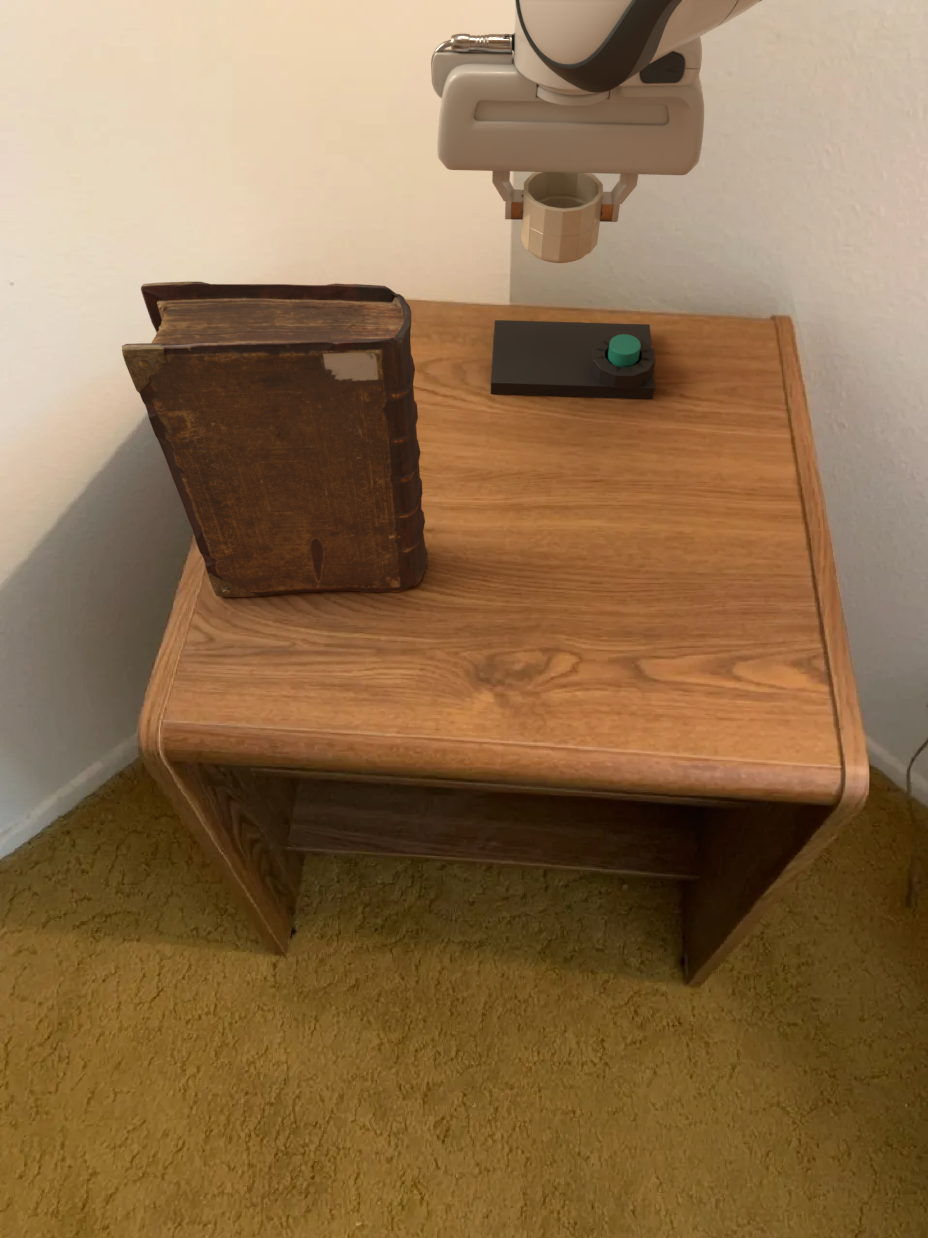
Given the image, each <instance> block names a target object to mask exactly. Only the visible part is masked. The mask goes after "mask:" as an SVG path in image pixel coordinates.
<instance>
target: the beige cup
mask: <svg viewBox="0 0 928 1238" xmlns="http://www.w3.org/2000/svg"><path fill="white" fill-rule="evenodd" d="M522 190H523V212H522V213H523V218H522V220H521V233H520V235H521V236H520V242H521V245H523V247H524V248H525V249H526V251H527V252H528V253H530V254H531V255H532V256H534V257H535V258H537V259H539V260H541V261H544V262H547V263H553V264H568V263H573V262H576V261H579V260H581V259H584V257H585V256H587V255H589V254H591V252H592V251H593V250H594V249H595V247H596V246H597V245H598V241H599V240H598V239H599V231H600V225H601V222H600V216H601V207H602V200H603V192H604V184H603V182H601V180H600V179H599V178H598V177H597V176H596V175H595V173H562V172H531V174H530V175H529V176H528V177H527V178H526V179H525V180H524V181H523V189H522Z"/></svg>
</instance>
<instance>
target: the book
mask: <svg viewBox="0 0 928 1238" xmlns="http://www.w3.org/2000/svg"><path fill="white" fill-rule="evenodd" d="M140 291H141V295H142V298H143V302H144V304H145V308H146V311H147V313H148V315H149V318H150V321H151V324H152V327H153V328H154V330H155V333H156V334H155V336H154V337H153V339H152V340H151V342H149V343H147V342H146V343H145V342H144V343H142V342H141V343H140V342H139V343H125V344H122V345H121V354H122V357H123V360H124V363H125V364H124V365H125V366H126V369H127V371H128V374H129V376H130V379H131V380H132V383H133V386H134V387H135V390H136V392H137V393H138V394H139V396H140V398H141V401H142V403H143V405H144V406H145V409H146V412H147V416H148V420H149V424H150V425H151V428H152V431H153V433H154V436H155V437H156V439H157V441H158V444H159V445H160V448H161V451H162V453H163V455H164V459H165V461H166V463H167V466H168V470H169V472H170V475H171V477H172V480H173V483H174V484H175V487H176V491H177V493H178V495H179V498H180V500H181V502H182V505H183V509H184V511H185V513H186V517H187V519H188V522H189V525H190V527H191V529H192V533H193V536H194V540H195V543H196V545H197V548H198V551H199V553H200V555H201V556H202V558H203V561H204V565H205V570H206V573H207V576H208V579H209V582H210V585H211V587H212V590H213V592H214V595H215V597H223V598H224V597H225V598H226V597H227V598H229V597H230V598H231V597H232V598H245V597H247V598H248V597H263V596H265V597H266V596H267V597H269V596H271V595H283V594H295V593H296V594H297V593H312V592H361V593H398V592H406V591H407V590H408V589H409V588H411V587H415V586H417V585H418V584H419V583H420V582H421V580H422V578H423V576H424V574H425V570H426V568H427V563H428V554H429V553H428V550H427V548H426V547H427V546H426V541H425V536H424V535H425V534H424V529H425V524H426V518H425V513H424V511H423V507H422V497H423V494H424V493H423V480H422V478H421V477H420V476H421V473H420V472H421V471H420V457H421V453H422V452H421V447H420V444H419V440H418V431H417V424H418V419H419V412H418V403H417V401H416V400H415V389H414V388H415V387H414V380H415V373H416V367H415V362H414V358H413V355H412V346H411V344H412V343H411V329H412V309H411V306H410V304H409V303H408V302H407V300H406V299H405V297H404V296H403V295H402V294H400V293H396V292H395V291H394V290H392V289H391V288H389V287H387V286H386V285H380V284H363V283H362V284H361V283H329V284H293V283H291V284H290V283H289V284H288V283H244V284H243V283H208V282H204V281H167V282H166V281H165V282H164V281H163V282H151V283H143V284H142V285H141V286H140Z"/></svg>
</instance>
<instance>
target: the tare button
mask: <svg viewBox="0 0 928 1238" xmlns="http://www.w3.org/2000/svg"><path fill="white" fill-rule="evenodd" d="M640 348H641V344H640V341H639V340H638V339H637V338H636V337H634V336H631V335H627V334H621V335H617V336H615V337H613V338H612V339H611V341H610V344H609V351H608V359H609V361H610V362H611V363H612V364H613V365H616V366H618V367H631V366H633V365H635V364H636V363H637V361H638V359H639V353H640Z"/></svg>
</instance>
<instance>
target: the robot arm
mask: <svg viewBox="0 0 928 1238" xmlns="http://www.w3.org/2000/svg"><path fill="white" fill-rule="evenodd" d="M762 1H763V0H515V2H514V3H515V6H514V32H513V33H489V34H481V35H480V34H479V35H475V34H474V35H473V34H472V35H471V34H470V33H455V34H452V35H451V36H450V37H451V38H450V39H448V40H445V41H442V42H441V43H440V44H439V45H437V46H436V48H435V49H434V50H433V53H432V55H431V59H430V74H431V85H432V88H433V90H434V92H435V94H436V95H437V96H438V97H439V98H440V99H441V100H440V106H439V107H440V108H439V117H438V128H437V146H436V147H437V149H436V150H437V152H436V155H437V158H438V160H439V161H440V162H441V163H442V165H443V166H444V167H445V169H447V170H449V171H473V172H475V171H476V172H478V171H479V172H481V171H482V172H492V174H491V175H492V176H491V179H492V180H491V181H492V184H493V186H494V187H495V190H496V191H497V192H498V194H499V196H500V197H501V199H502V201H503V202H505V203H504V220H510V221H511V220H513V221H514V220H516V221H517V220H520V221H522V218H523V213H522V212H523V189H515V188H514V186H513V184H512V183H511V181H510V180H511V172H521V173H523V172H524V173H525V172H526V173H527V172H528V173H534V172H562V173H591V174H605V175H606V174H609V175H610V174H611V175H612V174H613V175H618V181H617V182H616V184H615V186H613V188H612V190H611V191H603V200H602V207H601V216H600V223H601V222H603V223H618V221H619V214H620V208H621V205H622V204H623V203H624V202H625V201H626V199H627V198H628V197H629V196H630V195H631V193H632V192H633V191H634V189H636V187H637V185H638V179H639V175H650V176H651V175H654V176H656V175H658V176H686V175H688V174H689V173H690V172H691V171H692V170H693V169H694V168H695V167H696V166H697V165H698V164H699V161H700V157H701V153H702V147H703V137H704V127H705V101H704V94H703V87H702V82H701V78H700V73H701V67H702V61H703V45H702V38H701V37H702V36H703V35H706V34H707V33H709V32H711V31H712V30H715V29H716V28H718V27H720V26H723V25H724V24H726V23H728V22H730V21H731V20H733V19H735V18H736V17H738V16H740V15H742V14H743V13H745V12H747V11H748V10H749V9H752V8H753V7H754V6H756V5H757V4H758V3H760V2H762Z"/></svg>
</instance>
